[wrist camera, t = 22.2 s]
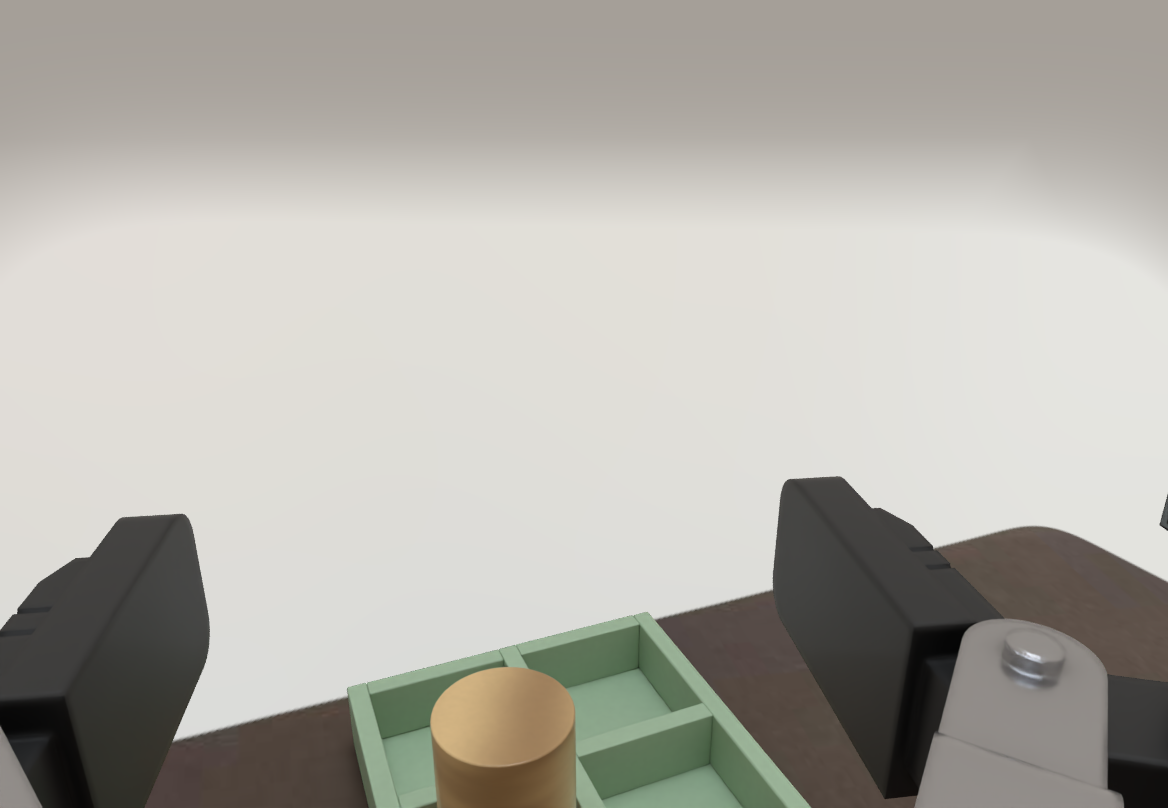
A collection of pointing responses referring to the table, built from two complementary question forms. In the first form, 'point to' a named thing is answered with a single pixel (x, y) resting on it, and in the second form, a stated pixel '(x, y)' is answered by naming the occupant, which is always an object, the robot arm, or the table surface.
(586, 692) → the grid
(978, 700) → the robot arm
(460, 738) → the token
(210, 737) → the table surface
